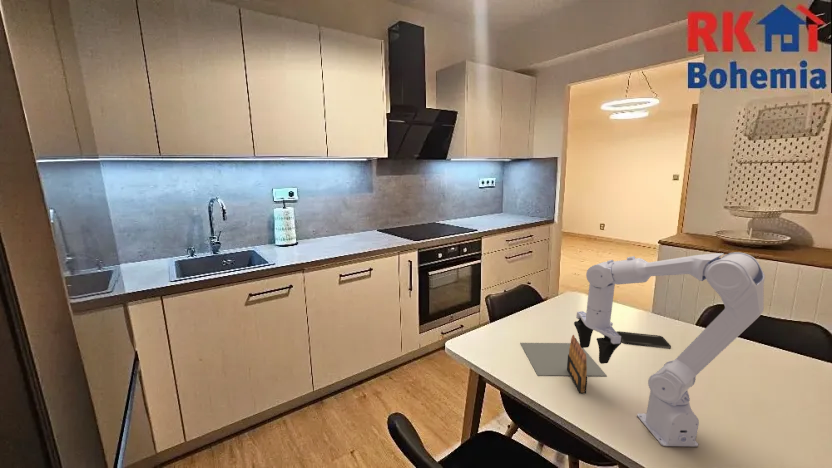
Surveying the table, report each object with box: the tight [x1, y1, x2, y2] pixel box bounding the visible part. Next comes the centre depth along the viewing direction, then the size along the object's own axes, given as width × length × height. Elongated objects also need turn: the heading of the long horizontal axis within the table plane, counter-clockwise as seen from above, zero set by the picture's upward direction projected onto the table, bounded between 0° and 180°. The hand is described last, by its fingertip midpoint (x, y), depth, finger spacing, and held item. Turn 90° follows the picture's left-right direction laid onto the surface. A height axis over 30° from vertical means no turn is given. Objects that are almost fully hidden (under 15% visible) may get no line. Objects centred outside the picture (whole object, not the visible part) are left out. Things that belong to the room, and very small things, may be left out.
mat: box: [520, 342, 608, 377], centre depth 109 cm, size 18×20×1 cm
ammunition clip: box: [567, 334, 588, 395], centre depth 96 cm, size 11×2×12 cm, turn 174°
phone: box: [616, 330, 672, 350], centre depth 119 cm, size 8×1×15 cm
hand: (593, 354), depth 92 cm, fingers open, 7 cm apart
